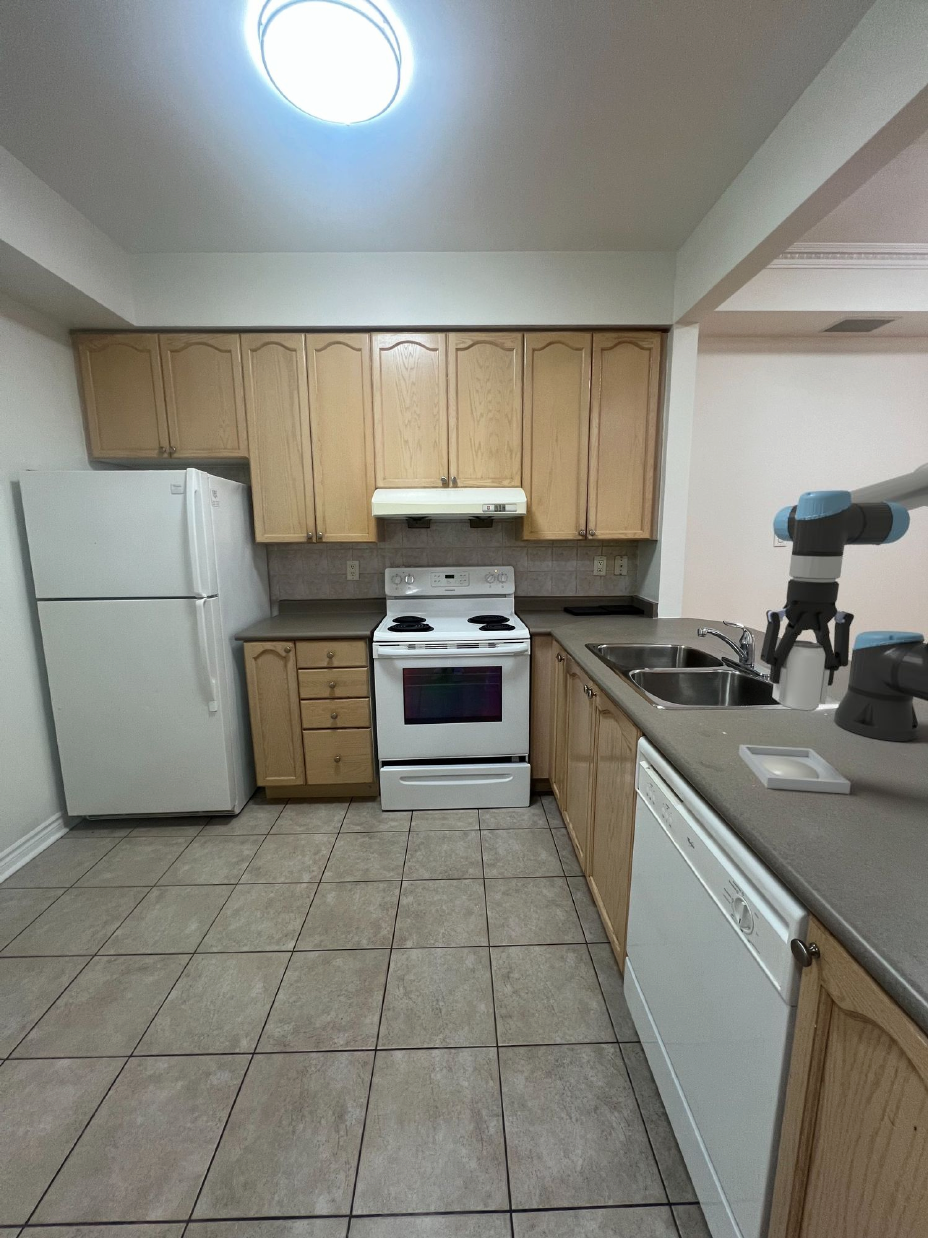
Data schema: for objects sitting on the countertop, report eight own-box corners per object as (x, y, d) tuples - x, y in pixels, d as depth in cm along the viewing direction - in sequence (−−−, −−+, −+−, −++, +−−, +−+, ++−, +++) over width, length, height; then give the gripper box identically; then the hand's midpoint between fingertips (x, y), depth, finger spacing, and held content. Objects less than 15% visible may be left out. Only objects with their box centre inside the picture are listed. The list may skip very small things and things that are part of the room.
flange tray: (809, 758, 100) (811, 748, 100) (849, 793, 87) (850, 783, 87) (738, 753, 103) (739, 744, 102) (766, 788, 90) (767, 777, 89)
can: (779, 696, 97) (786, 638, 95) (819, 704, 93) (828, 642, 90) (775, 706, 92) (782, 644, 90) (817, 714, 88) (825, 650, 86)
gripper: (860, 577, 90) (843, 696, 94) (747, 576, 93) (735, 691, 97) (888, 582, 82) (868, 710, 87) (763, 581, 86) (750, 705, 90)
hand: (798, 700), depth 92 cm, fingers closed on can, 6 cm apart
